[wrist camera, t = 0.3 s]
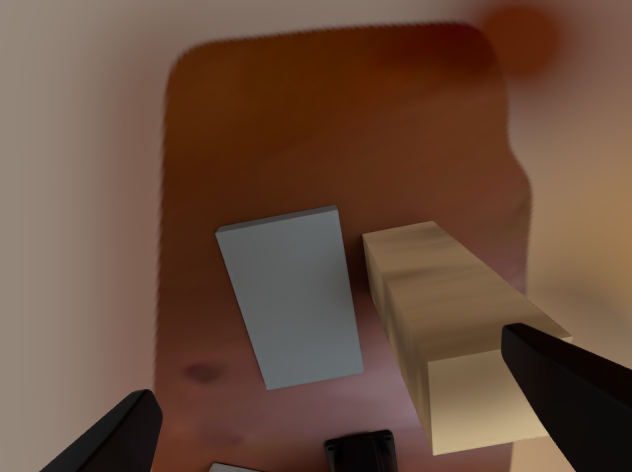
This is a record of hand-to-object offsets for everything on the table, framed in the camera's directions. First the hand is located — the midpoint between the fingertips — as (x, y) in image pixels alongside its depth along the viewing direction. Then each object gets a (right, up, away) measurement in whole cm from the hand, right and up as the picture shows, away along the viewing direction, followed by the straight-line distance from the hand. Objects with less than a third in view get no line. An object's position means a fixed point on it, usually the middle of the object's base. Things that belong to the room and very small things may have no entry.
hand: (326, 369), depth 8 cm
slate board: (-2, -2, +16) cm, 16 cm away
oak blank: (+6, +2, +15) cm, 16 cm away
